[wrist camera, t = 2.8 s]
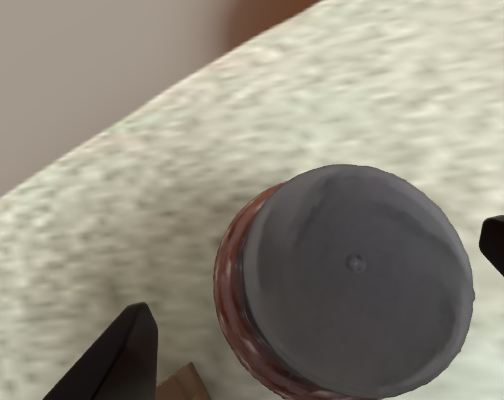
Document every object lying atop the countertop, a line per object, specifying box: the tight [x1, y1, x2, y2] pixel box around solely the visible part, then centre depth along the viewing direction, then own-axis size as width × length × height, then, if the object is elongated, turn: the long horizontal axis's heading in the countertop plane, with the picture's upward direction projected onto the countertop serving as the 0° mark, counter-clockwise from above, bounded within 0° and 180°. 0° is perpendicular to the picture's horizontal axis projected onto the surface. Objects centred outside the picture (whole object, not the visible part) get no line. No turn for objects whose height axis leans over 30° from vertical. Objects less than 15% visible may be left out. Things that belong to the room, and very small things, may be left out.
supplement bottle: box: [213, 164, 475, 400], centre depth 10 cm, size 6×6×11 cm
